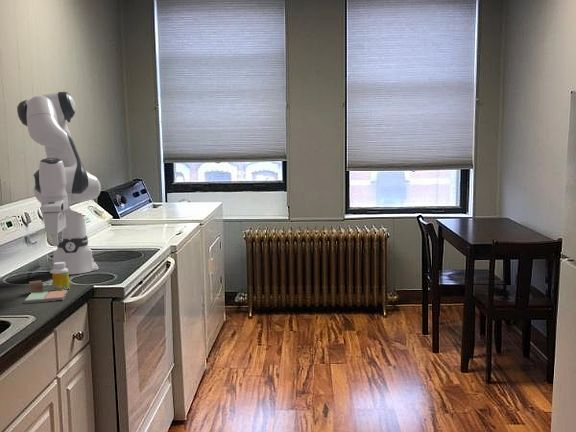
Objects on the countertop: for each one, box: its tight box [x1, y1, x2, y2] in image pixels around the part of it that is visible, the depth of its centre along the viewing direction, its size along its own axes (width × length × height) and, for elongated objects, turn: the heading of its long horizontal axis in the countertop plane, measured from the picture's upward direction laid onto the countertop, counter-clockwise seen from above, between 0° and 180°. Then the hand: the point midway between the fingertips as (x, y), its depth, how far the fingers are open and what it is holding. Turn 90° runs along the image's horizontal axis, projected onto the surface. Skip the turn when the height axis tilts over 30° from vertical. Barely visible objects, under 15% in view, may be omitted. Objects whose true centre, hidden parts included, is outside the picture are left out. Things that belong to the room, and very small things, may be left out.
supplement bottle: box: [51, 262, 70, 290], centre depth 220 cm, size 5×5×10 cm
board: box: [23, 290, 69, 305], centre depth 209 cm, size 11×12×1 cm
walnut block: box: [28, 279, 44, 293], centre depth 217 cm, size 4×4×4 cm
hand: (58, 244), depth 219 cm, fingers open, 8 cm apart
